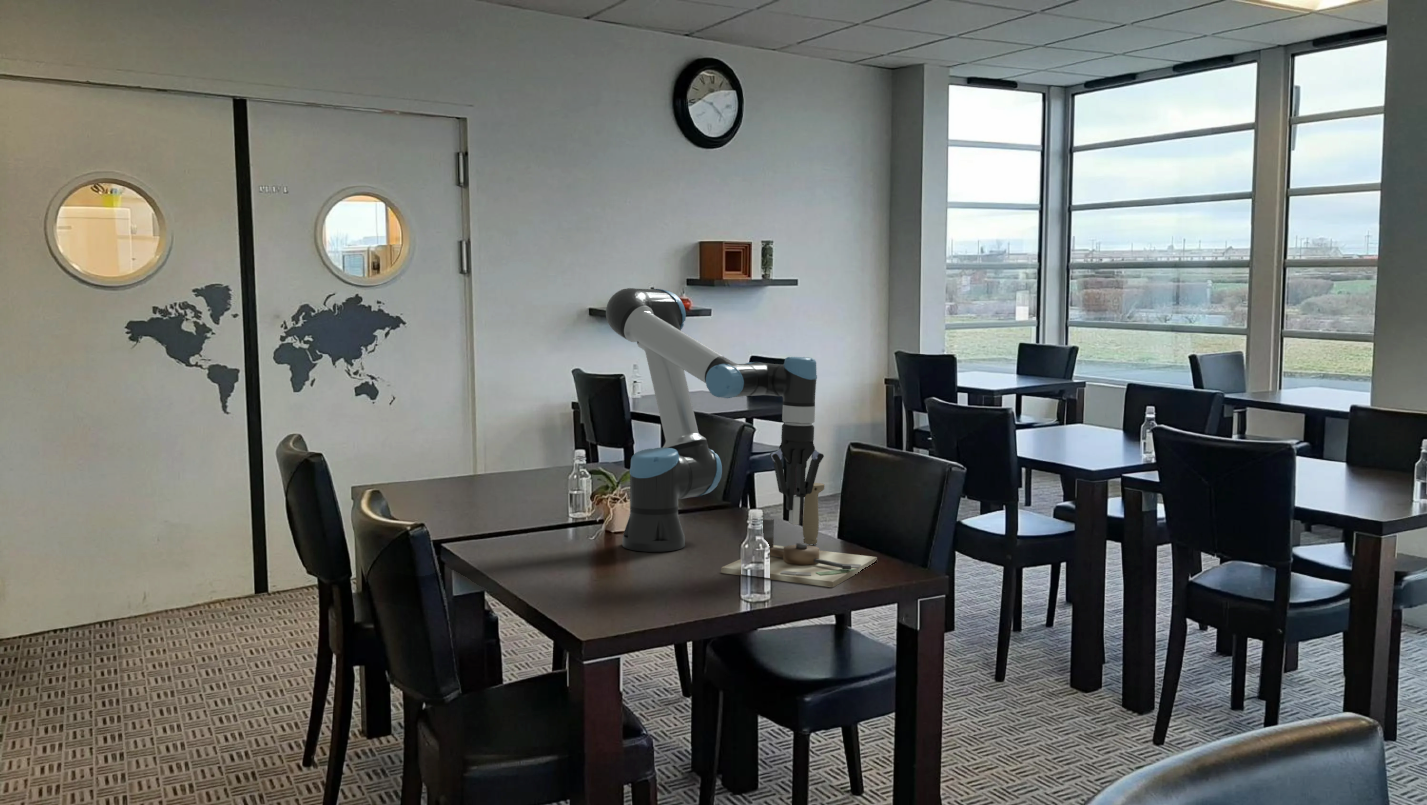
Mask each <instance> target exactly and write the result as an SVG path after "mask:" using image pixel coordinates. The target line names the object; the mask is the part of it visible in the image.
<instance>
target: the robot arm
mask: <svg viewBox="0 0 1427 805" xmlns="http://www.w3.org/2000/svg"><path fill="white" fill-rule="evenodd" d="M686 313H687V312H686V308H685V305H684V303H683V301H682V300H681V298H680V297H679V296H678V295H677V294H675V293H674V292H672V291H669V290H665V289H661V288H653V289H652V288H650V289H649V288H634V287H632V288H631V287H629V288H628V287H627V288H623V289H620V290H618V291H616V292H615V293H614V294H612V296H611V297H610V299H609V300H608V302H607V305H606V307H605V317H606V322H607V323H608V326H609V327H610V329H611V330H612V331H613V332H615V333H616V334H618V335H619V336H620V337H622V338H623V339H625V340H627V341H628V342H631V343H636V345H637V347H639V348H640V349H642V350H643V351H644V352H645V356H646V362H647V364H648V365H647V366H648V370H649V373H650V379H651V382H652V387H653V391H654V395H655V399H656V404H657V407H658V408H657V409H658V414H659V418H660V422H661V426H662V430H663V435H664V439H665V442H664V444H663V446H662V447H655V448H647V449H642V450H638V451H637V452H635V453H634V454H633V455H632V456H631V459H630V468H629V516H628V519H627V523H626V526H625V528H624V532H623V535H622V547H623V548H624V549H627V550H630V551H636V552H649V553H660V552H663V553H664V552H671V551H678V550H681V549H683V548H685V546H686V544H685V543H686V536H685V534H684V530H683V526H682V524H681V521H680V520H681V519H680V518H679V500H682V499H687V498H688V499H689V498H698V497H702V496H703V495H707V494H709V493H711V492H712V491H714V490H715V489H716V488H717V486H718V485H719V483H720V481H721V479H722V475H723V474H722V473H723V466H722V465H723V464H722V461H721V458H720V456H719V455H718V454H717V453H715V451H714V450H713V449H710V448H709V444H708V441H707V438H706V437H704V436H703V435H701V434H700V433H699V430H698V429H699V428H698V425H697V420H696V416H695V415H696V414H695V411H694V408H693V407H694V406H693V404H692V403H693V402H692V399H691V395H690V390H689V385H688V382H687V377H686V373H685V372H687V373H688V374H690V375H692V376H693V377H695V378H697V379H698V380H700V382H703V383H705V386H706V388H707V389H708V391H709V393H710V394H711V395H712V396H713V397H716V398H721V399H722V398H723V399H732V398H741V397H750V396H751V397H753V396H755V397H756V396H774V397H782V415H781V416H782V417H781V419H782V420H781V421H782V422H784V423H783V424H782V425H781V435H780V436H781V437H780V438H781V443H780V444H779V447H778V448H779V449H778V450H776V451H774V452H770V453H769V457H770V459H771V461H772V463H773V468H774V473H775V477H776V483H777V488H778V492H779V493H780V494H783V495H785V497H786V499H785V500H786V501H785V508H786V510H788V523H789V524H791V525H792V526H799V525H800V511H804V498H805V496H806V494H811V492H812V489H813V486H814V483H816V482H815V481H816V478H817V474H818V471H819V466H820V463H821V462H822V460H823V459H824V457H825V456H824V454H823V453H821V452H819V451H817V450H816V447H815V443H814V439H815V438H814V437H815V426H814V423H815V421H816V420H815V419H816V416H815V415H816V393H817V392H816V391H817V390H816V389H817V379H818V375H817V361H816V359H815V358H813V357H805V356H787V357H785V359H784V363H783V364H780V363H779V364H778V363H775V364H774V363H769V362H767V363H766V362H760V361H753V362H752V361H751V362H745V363H735V362H734V361H732V360H731V359H729V358H727V357H725V356H724V355H722V354H720V353H719V352H717V351H715V350H714V349H712V348H710V347H709V346H707V345H705V344H703V343H702V342H701V341H699V340H697V339H695V338H693V337H692V336H690V335H689V334H687V333H685V332H684V331H682V330H683V327H684V326H685V321H686V318H687V314H686ZM782 458H784V460H785V466H786V477H785V473H784V467H783V463H782V462H783V461H782ZM810 458H811V460H810V463H809V467H808V469H806V468H807V466H808V463H807V462H808V461H809V459H810ZM806 470H807V471H806ZM806 472H807V473H806ZM795 484H796V485H795Z"/></svg>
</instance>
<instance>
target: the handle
mask: <svg viewBox="0 0 1427 805" xmlns="http://www.w3.org/2000/svg"><path fill="white" fill-rule="evenodd" d="M824 490H825V484H824V483H820V482H814V486H813V489H812V492H811V494H806V496H805V497H804V501H803V514H802V536H803V543H806V544H816V543H817V544H818V539H817V538H818V536H819V526H820V525H819V523H820V518H819V516H820V514H819V494H820V493H821V492H823V491H824ZM817 544H816V545H817Z"/></svg>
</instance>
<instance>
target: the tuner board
mask: <svg viewBox="0 0 1427 805" xmlns="http://www.w3.org/2000/svg"><path fill="white" fill-rule="evenodd" d="M785 546H786V545H776V544H773V547H777V548H782V549H784V547H785ZM741 559H742V558H740V559H738V560H735V561H733V562H731V563H729V564H726V565H724V566H721V569H720V570H721V571H720V574H721V573H722V574H728V575H737V576H742V575H741ZM819 559H821V560H826V561H831V562H836V563H841V564H850V565H851V569H842V568H840V567H835V566H830V565H825V564H820V563H816V564H810V565H798V564H790V563H786V562H784V561H783V558H782V557H777V556H772V555H770V579H769V580H774V581H782V582H789V583H796V584H804V585H812V586H819V587H826V588H827V587H829V588H835V587H836V586H838V585H840V584H841V583H843V582H845V581H847V580H848V579H850V578H852V577H853V576H856V575H857V574H859V573H861V572H862V571H861V570H862V569H864V568H865V567H868V566H869V565H871V564H872V563H874V562H875V561H876V560H877V561H878V557H877V556H870V555H863V554H861V555H860V554H853V553H845V552H835V551H827V550H820V549H819ZM871 566H872V565H871ZM868 568H869V567H868ZM864 570H865V569H864ZM860 571H861V572H860ZM858 572H859V573H858ZM855 574H856V575H855Z"/></svg>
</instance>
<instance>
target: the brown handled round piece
mask: <svg viewBox="0 0 1427 805" xmlns="http://www.w3.org/2000/svg"><path fill="white" fill-rule="evenodd" d="M762 519H763V533H764V539H765V540H766V541H767V542H768V544H769V546H770V555H772V556H777V557H782V558H783V561H784V562H786V563H790V564H798V565H810V564H816V563H820V564H825V565H830V566H835V567H840V568H842V569H851V565H850V564H841V563H836V562H831V561H826V560H821V559H819V550H820V548H819V547H818V546H815V545H807V544H806V543H804V542H798V543H797V542H796V544H791V545H790V544H789V545H784V546H785V547H784V549H782V548H777V547H773V545H774V539H775V538H774V537H775V535H774V533H775V530H774V529H775V519H773V518H762Z"/></svg>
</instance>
